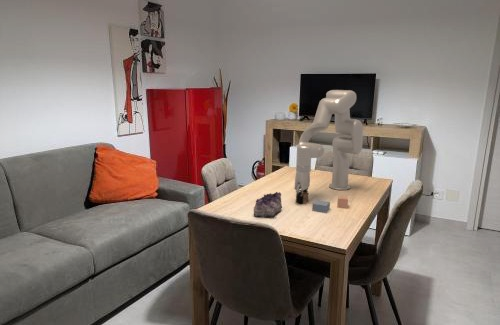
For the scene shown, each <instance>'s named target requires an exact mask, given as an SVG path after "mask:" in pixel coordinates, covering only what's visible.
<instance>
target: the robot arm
mask: <svg viewBox="0 0 500 325" xmlns="http://www.w3.org/2000/svg"><path fill="white" fill-rule="evenodd" d="M325 95H326V96H325V97H324V98H322V99H321V100H319V103H318V105H317V109H316V113H315V116H314V119H313V121H312V124H310V125H309V126H308V127H307V128H306V129H305V130H304V131H303V132H302V133H301V134H300V138H299V141H298V144H297V148H296V163H295V164H296V166H295V167H296V168H295V170H296V172H295V178H294V188H293V189H294V190H295V193H297V203H296V204H301V203H303V196H302V195H303V192H307V193H309V187H310V184H311V183H310V182H311V181H310V180H311V178H310V177H311V170H312V166H311V164H312V159H317V158H318V159H319V158H321V157H322V156H323V154H324V152H325V151H324V150H325V148H324V146H323V145H321V144H319V143H315V142H309V141H310V139H311V138H312V137H313V136H314V135H315V134H317V133H320V132H322V131H325V130H327V129H329V126H330V123H331V119H332V117H333V116H332V115H334V131H335V132H336V134H338V136H336V137H334V138H333V139H332V142H331V143H332V152H333V154H332V155H333V157H332V159H333V160H332V161H333V162H332V175H331V176H332V177H331V183H329V185H328V187H329V188H330V189H332V190H337V191H346V190H350V189H351V185H350V184H349V172H350V171H349V170H350V157H349V155H348V154H350V155H351V154H352V155H359V154H360V153H361V152H362V150H363V143H364V142H363V140H364V138H363V136H364V132H363V131H364V129H363V128H364V126H363V123H362V121H360V120H359V119H356V118H351V114H350V110H351V108H352V107H353V106H354V105H355V104H356V102H357V93H356V92H355V91H353V90H350V89H348V90H347V89H345V90H344V89H331V90H329V91H327V92H326V94H325ZM299 191H301V192H299Z"/></svg>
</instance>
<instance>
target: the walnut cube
mask: <svg viewBox="0 0 500 325" xmlns="http://www.w3.org/2000/svg"><path fill="white" fill-rule="evenodd" d="M299 192H301V191H299ZM295 193H296V192H295ZM309 194H310V193H309V192H308V193H307V192H303V195H302V196H303V203H300V204H302V205H306V204H307V203H308V202H309ZM295 204H298V203H297V193H296V194H295Z"/></svg>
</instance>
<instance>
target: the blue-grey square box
mask: <svg viewBox="0 0 500 325" xmlns="http://www.w3.org/2000/svg"><path fill="white" fill-rule="evenodd" d="M330 206H331V202H330V201H327V200H320V199H315V201H314V202H313V203H312V206H311V207H312V209H311V211H312V212H317V213H323V214H327V212H328V211H330V209H331V208H330Z"/></svg>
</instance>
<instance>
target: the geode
mask: <svg viewBox="0 0 500 325" xmlns="http://www.w3.org/2000/svg"><path fill="white" fill-rule="evenodd" d="M281 196H282V193H281V192H280V191H279V192H278V191H276V192H274V193H271V192H270V193H267V194H263V196H261V197H260V198H257V199H256V200H255V205H254V207H253V215H254V216H255V217H268V218H273V217H275V216H276V214H278V213H281V212H282V207H283V206H282V204H283V203H282V197H281Z"/></svg>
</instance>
